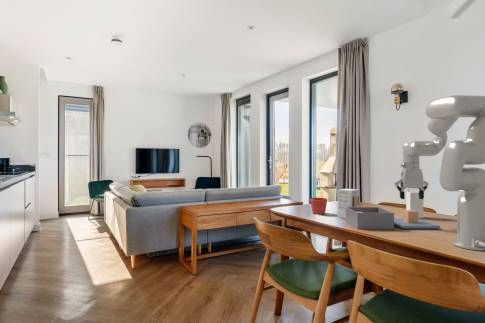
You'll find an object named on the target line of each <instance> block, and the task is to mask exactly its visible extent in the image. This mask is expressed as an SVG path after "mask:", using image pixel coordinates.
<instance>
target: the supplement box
mask: <svg viewBox="0 0 485 323" xmlns="http://www.w3.org/2000/svg"><path fill="white" fill-rule="evenodd" d="M346 207H360V189H357V188H355V189H354V188H341V189H338V190H337V218H339V219H345V220H346Z"/></svg>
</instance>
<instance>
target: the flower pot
mask: <svg viewBox="0 0 485 323" xmlns="http://www.w3.org/2000/svg"><path fill="white" fill-rule="evenodd" d="M309 202H310V207H311V214H313V215H316V214H318V216H323V215H325V214H326V211H327V210H326V209H327V203H328V198H327V197H311V198H309Z"/></svg>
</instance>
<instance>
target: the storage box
mask: <svg viewBox="0 0 485 323" xmlns="http://www.w3.org/2000/svg"><path fill="white" fill-rule="evenodd" d="M394 218H395V213H394V212H392V211H390V210H387V209H384V208H381V207H377V206H375V207H374V206H372V207H371V206H369V207H368V206H363V207H361V206H359V207H346V219H345V221H346V223H348V224H349V225H351V226H353V227H354V228H356V229H357V230H395V225H394Z"/></svg>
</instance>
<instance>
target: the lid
mask: <svg viewBox="0 0 485 323" xmlns="http://www.w3.org/2000/svg"><path fill="white" fill-rule="evenodd" d="M394 226H395V227H398V228H400V229H403V230H436V229H441V225H438V224H435V223H433V222H430V221H427V220H425V219H423V218H418V211H415V210H406V209H403V218H400V217H399V218H397V217H396V218H395V217H394Z"/></svg>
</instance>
